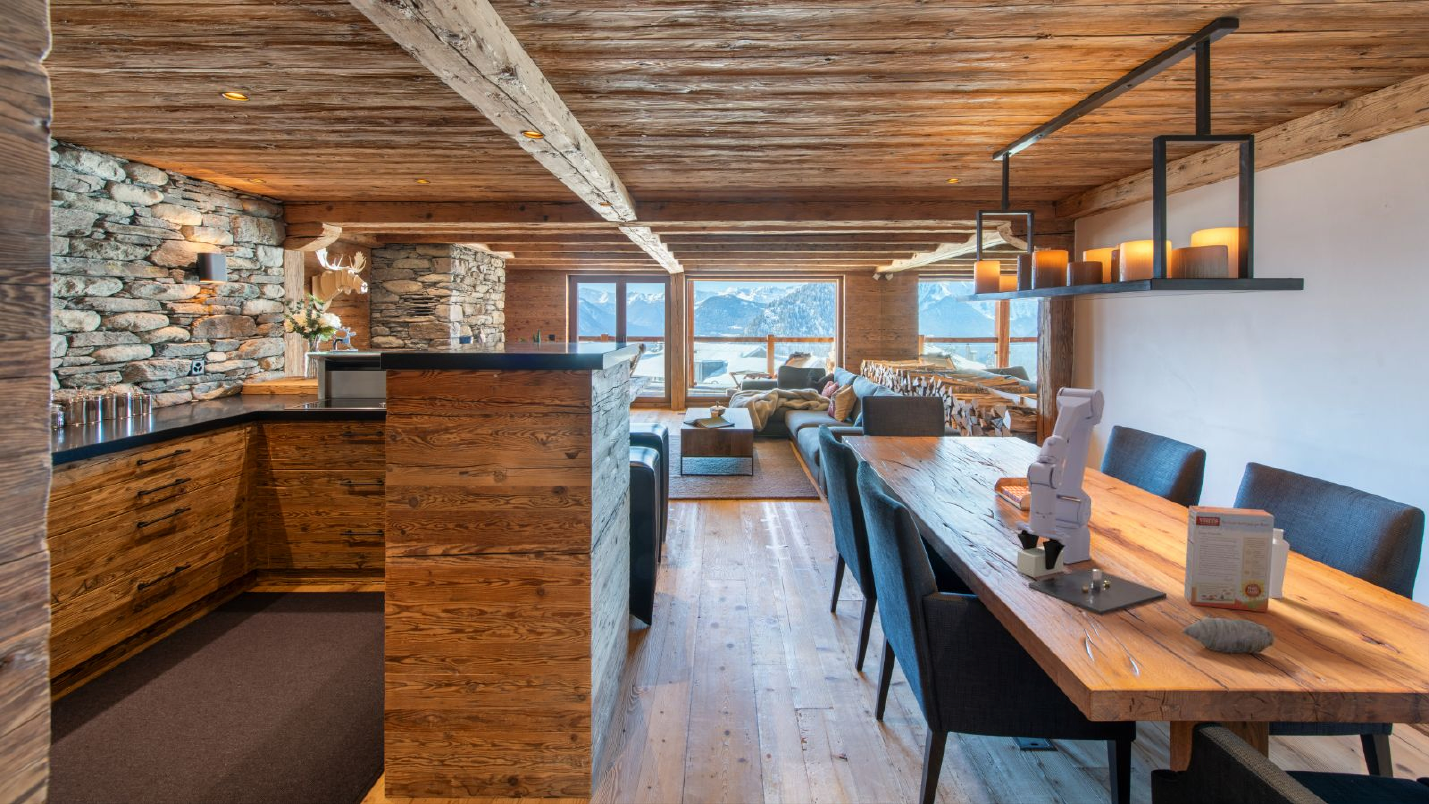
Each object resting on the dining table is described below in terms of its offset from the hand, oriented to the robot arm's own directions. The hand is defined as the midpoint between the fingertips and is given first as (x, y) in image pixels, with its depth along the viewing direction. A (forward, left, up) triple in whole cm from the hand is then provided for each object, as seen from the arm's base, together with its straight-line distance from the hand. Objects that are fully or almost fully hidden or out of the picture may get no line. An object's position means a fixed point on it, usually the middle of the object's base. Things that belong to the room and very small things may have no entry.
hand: (1040, 565), depth 173 cm
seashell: (+5, +45, -2) cm, 45 cm away
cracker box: (-18, +32, -2) cm, 37 cm away
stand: (0, +15, -1) cm, 15 cm away
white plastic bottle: (-33, +34, -2) cm, 47 cm away
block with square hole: (0, 0, -1) cm, 1 cm away
